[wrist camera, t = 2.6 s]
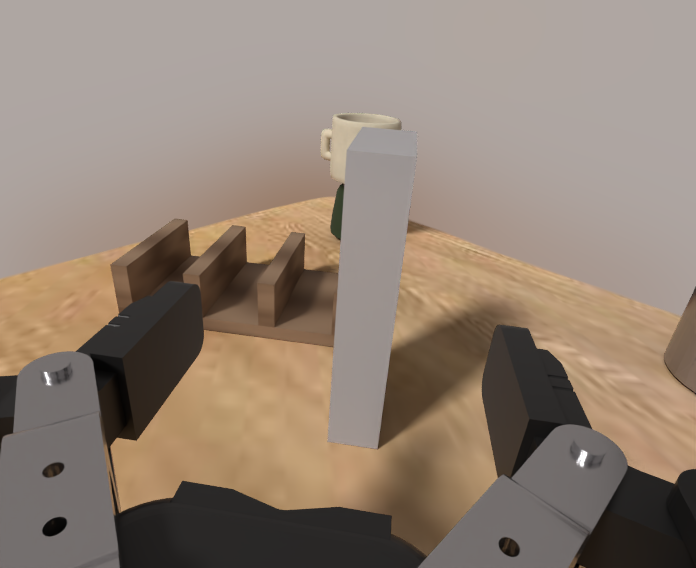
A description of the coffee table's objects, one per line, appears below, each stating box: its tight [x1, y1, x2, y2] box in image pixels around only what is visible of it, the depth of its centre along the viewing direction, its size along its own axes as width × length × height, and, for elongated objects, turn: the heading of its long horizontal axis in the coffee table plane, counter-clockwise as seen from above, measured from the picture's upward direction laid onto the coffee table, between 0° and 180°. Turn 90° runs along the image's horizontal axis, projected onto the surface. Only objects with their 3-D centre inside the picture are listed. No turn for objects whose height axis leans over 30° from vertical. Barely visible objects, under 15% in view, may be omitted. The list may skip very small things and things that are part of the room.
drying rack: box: [111, 219, 339, 347], centre depth 38 cm, size 10×17×4 cm, turn 82°
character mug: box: [321, 113, 401, 239], centre depth 50 cm, size 11×7×13 cm, turn 58°
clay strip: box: [328, 127, 417, 449], centre depth 25 cm, size 6×3×16 cm, turn 172°
